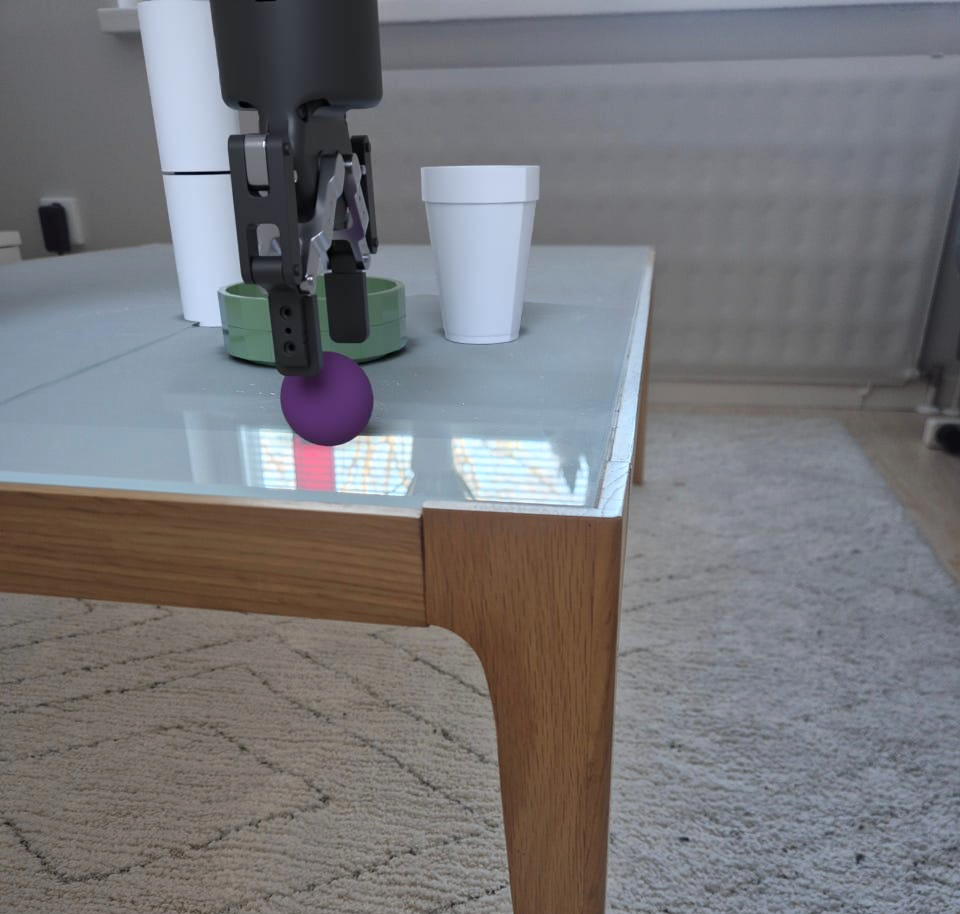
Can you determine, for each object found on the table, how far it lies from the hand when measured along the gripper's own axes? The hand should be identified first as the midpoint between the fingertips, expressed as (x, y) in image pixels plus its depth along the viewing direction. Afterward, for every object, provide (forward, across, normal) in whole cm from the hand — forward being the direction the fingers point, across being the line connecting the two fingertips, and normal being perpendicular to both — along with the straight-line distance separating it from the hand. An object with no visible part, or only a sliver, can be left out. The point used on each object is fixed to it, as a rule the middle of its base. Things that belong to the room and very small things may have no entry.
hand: (327, 357), depth 50 cm
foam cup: (+5, -33, +3) cm, 34 cm away
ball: (+2, 0, 0) cm, 2 cm away
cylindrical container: (+5, -39, -23) cm, 46 cm away
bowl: (+5, -25, -9) cm, 27 cm away
